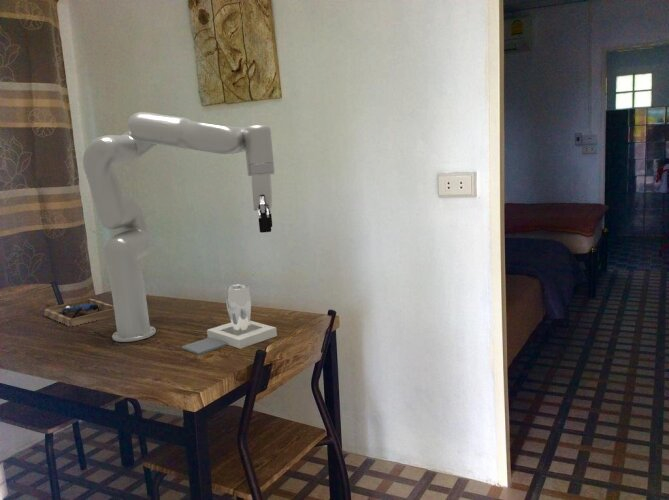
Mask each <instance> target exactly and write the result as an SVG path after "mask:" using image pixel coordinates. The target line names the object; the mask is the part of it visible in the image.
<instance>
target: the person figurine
mask: <svg viewBox="0 0 669 500" xmlns="http://www.w3.org/2000/svg"><path fill="white" fill-rule="evenodd" d="M68 310H70V311H71V312H72V313H74V315H73V316H72V318H71V319H73V318H76V317H77V314H78V313H79V312H82V311H83V312H90V311H96V313H97V312H100V309H99V307H98V305H97V304H94V303H91V304H89V305H87V304H82V305H72V308H70V306H66V308H62V312H61V315H63V314H65V315H66V314H67V312H69V311H68ZM73 311H75V312H73Z"/></svg>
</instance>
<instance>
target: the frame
mask: <svg viewBox="0 0 669 500" xmlns="http://www.w3.org/2000/svg"><path fill="white" fill-rule="evenodd" d="M91 303H94V304H97V305H98V307H99V310H101V311H99V312H97V311H96V312H93V313H90V314H85V315H81V316H76V317H75V318H73V319H71V318H70V317H69V316H66V315H63V314H62V308H66V306H70V308H72V305H82V304H87V305H89V304H91ZM59 312H61V313H59ZM43 315H44V317H46V316H47V317H46V318H48V317H49V318H48V319H50V318H51V320H53V321H55V320H56V321H55V322H57V321H58V322H57V323H59V322H61V323H60V324H62V323H63V324H62V325H64V324H65V325H64V326H66V325H67V327H69V326H70V327H69V328H73V327H72V326H74V327H77V326H76V325H78V326H81V325H80V324H82V325H85V324H84V323H86V324H89V323H93V322H96V320H97V321H100V320H104V319H108V318H111V317H115V313H114V306H113V304H109V303H107V302H103V301H100V300H97V299H93V298H90V297H89V298H85V299H81V300H77V301H73V302H72V301H71V302H69V303H64V304H60V305H59V304H58V305H55V306H51V307H45V308H43ZM92 321H93V322H92ZM88 322H89V323H88Z"/></svg>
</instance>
